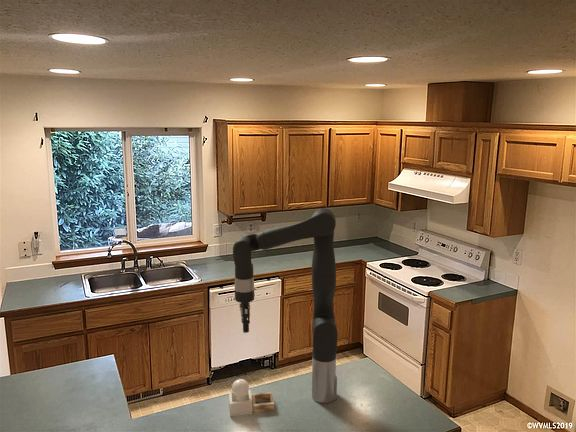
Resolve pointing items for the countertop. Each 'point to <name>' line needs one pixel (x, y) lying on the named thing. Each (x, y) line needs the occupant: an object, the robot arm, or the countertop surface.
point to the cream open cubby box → (240, 404)
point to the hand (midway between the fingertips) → (245, 327)
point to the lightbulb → (240, 389)
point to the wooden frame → (264, 406)
